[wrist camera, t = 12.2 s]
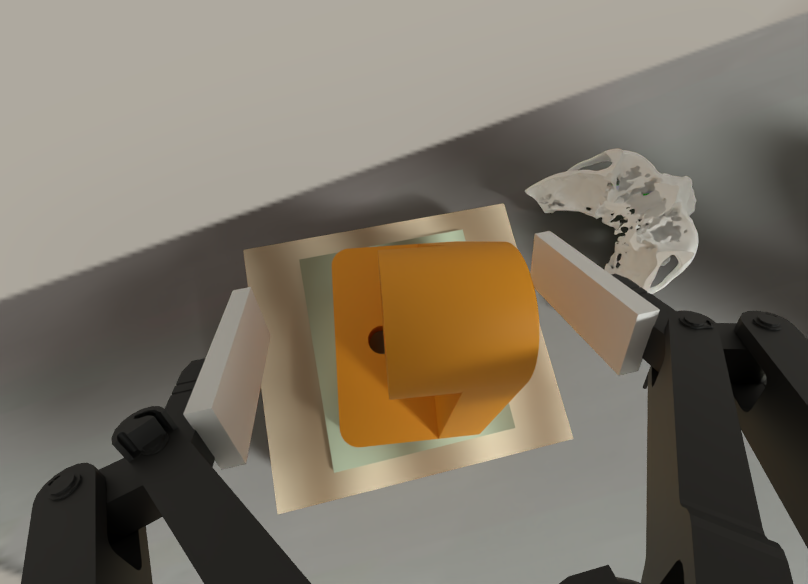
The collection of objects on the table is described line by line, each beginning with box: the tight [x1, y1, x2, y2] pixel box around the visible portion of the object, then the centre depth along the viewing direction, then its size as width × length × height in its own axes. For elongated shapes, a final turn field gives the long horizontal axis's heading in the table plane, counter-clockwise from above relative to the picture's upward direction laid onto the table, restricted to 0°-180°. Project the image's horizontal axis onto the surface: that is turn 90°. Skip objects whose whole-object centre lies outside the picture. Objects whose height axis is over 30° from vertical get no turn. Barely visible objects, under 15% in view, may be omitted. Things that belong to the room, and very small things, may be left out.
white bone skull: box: [525, 148, 699, 294], centre depth 29 cm, size 12×9×10 cm
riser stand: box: [243, 203, 573, 514], centre depth 25 cm, size 18×16×6 cm
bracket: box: [332, 241, 539, 447], centre depth 16 cm, size 11×7×12 cm, turn 5°
